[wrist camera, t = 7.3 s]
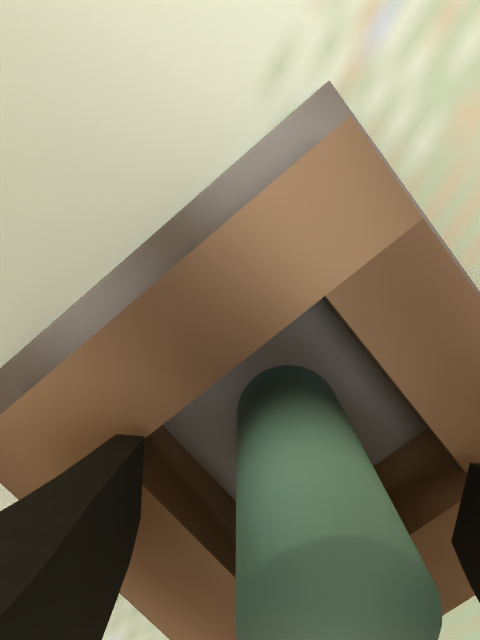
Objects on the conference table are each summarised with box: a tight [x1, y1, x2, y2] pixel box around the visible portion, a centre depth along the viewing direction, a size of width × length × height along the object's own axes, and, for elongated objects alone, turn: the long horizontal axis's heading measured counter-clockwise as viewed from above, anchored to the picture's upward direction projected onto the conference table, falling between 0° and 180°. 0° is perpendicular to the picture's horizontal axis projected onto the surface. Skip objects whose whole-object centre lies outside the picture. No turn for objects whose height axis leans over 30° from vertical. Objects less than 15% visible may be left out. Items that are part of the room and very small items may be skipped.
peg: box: [235, 365, 442, 640], centre depth 10 cm, size 3×3×7 cm
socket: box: [0, 81, 480, 640], centre depth 12 cm, size 13×13×4 cm
